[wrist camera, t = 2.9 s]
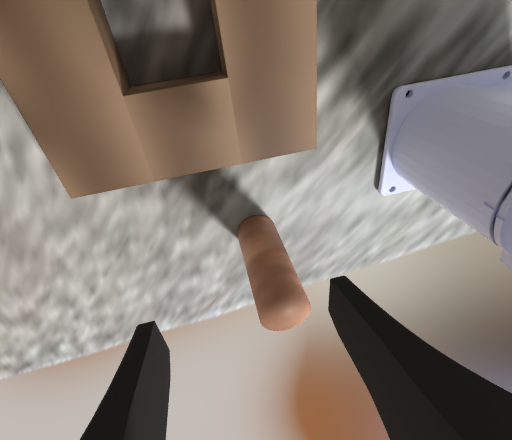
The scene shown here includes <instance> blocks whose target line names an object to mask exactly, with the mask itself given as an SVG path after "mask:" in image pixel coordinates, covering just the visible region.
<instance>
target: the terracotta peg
mask: <svg viewBox="0 0 512 440" xmlns="http://www.w3.org/2000/svg"><path fill="white" fill-rule="evenodd" d="M237 234H238V238H239V242H240V246H241V250H242V254H243V258H244V261H245V265H246V269H247V273H248V277H249V281H250V285H251V288H252V292H253V296H254V300H255V304H256V307H257V311H258V315H259V319H260V323H261V324H262V325H263V326H264V327H265V328H266V329H269V330H273V331H282V330H287V329H290V328H293V327H295V326H297V325H299V324H300V323H302V322H303V321H304V320H305V319H306V318H307V317H308V315H309V313H310V311H311V304H310V302H309V300H308V298H307V295H306V293H305V291H304V289H303V287H302V284H301V282H300V280H299V278H298V276H297V273H296V271H295V269H294V267H293V265H292V263H291V260H290V258H289V256H288V254H287V252H286V249H285V247H284V245H283V243H282V241H281V238H280V236H279V234H278V232H277V230H276V227H275V225H274V223H273V221H272V220H271V219H270V218H268V217H266V216H263V215H255V216H251V217H249V218H247V219H245V220H244V221H243V222H242V223H241V224H240V226H239V228H238V233H237Z"/></svg>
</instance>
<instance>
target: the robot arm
mask: <svg viewBox="0 0 512 440" xmlns="http://www.w3.org/2000/svg"><path fill="white" fill-rule="evenodd" d="M503 75H504V76H503ZM408 90H409V94H408V96H406V93H407V91H408ZM392 186H393V187H392ZM391 187H392V188H391ZM390 188H391V189H390ZM389 189H390V190H389ZM413 189H418V190H419V191H420V192H422V193H423V194H425V195H426V196H428V197H429V198H430V199H432V200H433V201H435V202H436V203H437V204H439V205H440V206H442V207H443V208H445V209H446V210H447V211H449V212H450V213H452V214H453V215H454V216H456V217H457V218H459V219H460V220H462V221H463V222H464V223H466V224H467V225H469V226H470V227H472V228H473V229H474V230H476V231H477V232H479V233H480V234H481V235H483V236H484V237H486V238H487V239H489V240H490V241H491V242H493V243H494V244H496V245H497V246H498V247H499V248H500V249H501V251H502V255H501V258H500V261H501V262H503V263H504V264H505V265H506V266H508V267H509V268H510V269H512V65H510V66H504V67H499V68H494V69H488V70H483V71H478V72H472V73H467V74H462V75H456V76H451V77H446V78H440V79H435V80H430V81H425V82H419V83H414V84H409V85H403V86H399V87H397V88H396V89H395V90H394V91H393V93H392V98H391V105H390V112H389V118H388V125H387V132H386V139H385V146H384V153H383V160H382V167H381V173H380V180H379V187H378V192H379V193H380V194H381V195H382V196H386V195H391V194H395V193H400V192H404V191H408V190H413ZM328 308H329V309H328V310H329V313H330V315H331V318H332V320H333V323H334V325H335V328H336V330H337V333H338V335H339V336H340V338H341V340H342V342H343V343H344V346H345V348H346V350H347V351H348V353H349V355H350V357H351V359H352V361H353V362H354V364H355V366H356V368H357V369H358V372H359V373H360V375H361V377H362V379H363V381H364V383H365V384H366V386H367V388H368V390H369V392H370V394H371V396H372V399H373V401H374V403H375V405H376V408H377V410H378V412H379V415H380V417H381V419H382V421H383V424H384V426H385V428H386V431H387V433H388V436H389V438H390V440H512V393H510V392H508V391H506V390H504V389H503V388H501V387H499V386H497V385H495V384H493V383H491V382H490V381H488V380H486V379H484V378H482V377H481V376H479V375H478V374H476V373H474V372H472V371H470V370H469V369H467V368H465V367H464V366H462V365H460V364H459V363H457V362H455V361H454V360H452V359H451V358H449V357H447V356H446V355H444V354H443V353H441V352H440V351H438V350H437V349H435V348H434V347H432V346H431V345H429V344H428V343H426V342H425V341H423V340H422V339H421V338H419V337H418V336H416V335H415V334H414V333H412V332H411V331H409V330H408V329H407V328H406V327H404V326H403V325H402V324H400V323H399V322H398V321H397V320H395V319H394V318H393V317H392V316H390V315H389V314H388V313H387V312H386V311H384V310H383V309H382V308H381V307H379V306H378V305H377V304H376V303H375V302H373V301H372V300H371V299H370V298H369V297H368V296H367V295H366V294H364V293H363V292H362V291H361V290H360V289H359V288H358V287H357V286H356V285H354V284H353V283H352V282H351V281H350V280H349V279H348V278H347V277H346V276H340V277H336V278H332V279H330V292H329V307H328ZM169 352H170V351H169V348H168V346H167V344H166V342H165V341H164V338H163V336H162V335H161V333H160V331H159V329H158V327H157V325H156V323H155V321H152V322H148V323H144V324H140V325H138V326H137V327H136V330H135V332H134V335H133V337H132V339H131V341H130V344H129V346H128V348H127V351H126V353H125V355H124V357H123V360H122V361H121V364H120V366H119V368H118V370H117V372H116V374H115V376H114V378H113V380H112V382H111V384H110V386H109V388H108V390H107V392H106V394H105V396H104V398H103V400H102V401H101V403H100V405H99V407H98V409H97V411H96V412H95V414H94V416H93V418H92V420H91V421H90V423H89V425H88V427H87V428H86V430H85V432H84V433H83V435H82V437H81V438H80V440H166V428H167V415H168V402H169V389H170V353H169Z"/></svg>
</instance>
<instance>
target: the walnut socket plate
mask: <svg viewBox="0 0 512 440" xmlns="http://www.w3.org/2000/svg"><path fill="white" fill-rule="evenodd" d="M210 3H211V9H212V14H213V20H214V26H215V32H216V38H217V43H218V49H219V55H220V61H221V67H222V71H220V72H214V73H208V74H202V75H197V76H191V77H185V78H179V79H173V80H167V81H161V82H156V83H150V84H144V85H138V86H132V87H131V86H130V83H129V81H128V78H127V75H126V72H125V69H124V66H123V63H122V61H121V58H120V55H119V52H118V49H117V46H116V43H115V41H114V38H113V35H112V32H111V29H110V26H109V24H108V21H107V18H106V15H105V12H104V9H103V6H102V4H101V1H100V0H0V79H1V80H2V82H3V84H4V85H5V87H6V89H7V91H8V92H9V94H10V96H11V97H12V99H13V101H14V102H15V104H16V106H17V108H18V109H19V111H20V113H21V114H22V116H23V118H24V119H25V121H26V123H27V125H28V126H29V128H30V130H31V131H32V133H33V135H34V136H35V138H36V140H37V142H38V143H39V145H40V147H41V148H42V150H43V152H44V153H45V155H46V157H47V159H48V160H49V162H50V164H51V165H52V167H53V169H54V170H55V172H56V174H57V176H58V177H59V179H60V181H61V182H62V184H63V186H64V187H65V189H66V191H67V193H68V194H69V196H70V198H71V199H72V198H77V197H81V196H86V195H91V194H96V193H101V192H106V191H111V190H116V189H120V188H125V187H130V186H135V185H140V184H145V183H150V182H155V181H159V180H164V179H169V178H174V177H179V176H184V175H189V174H194V173H198V172H203V171H208V170H213V169H218V168H223V167H228V166H233V165H237V164H242V163H247V162H252V161H257V160H262V159H267V158H272V157H276V156H281V155H286V154H291V153H296V152H301V151H306V150H311V149H316V136H317V0H210Z"/></svg>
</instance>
